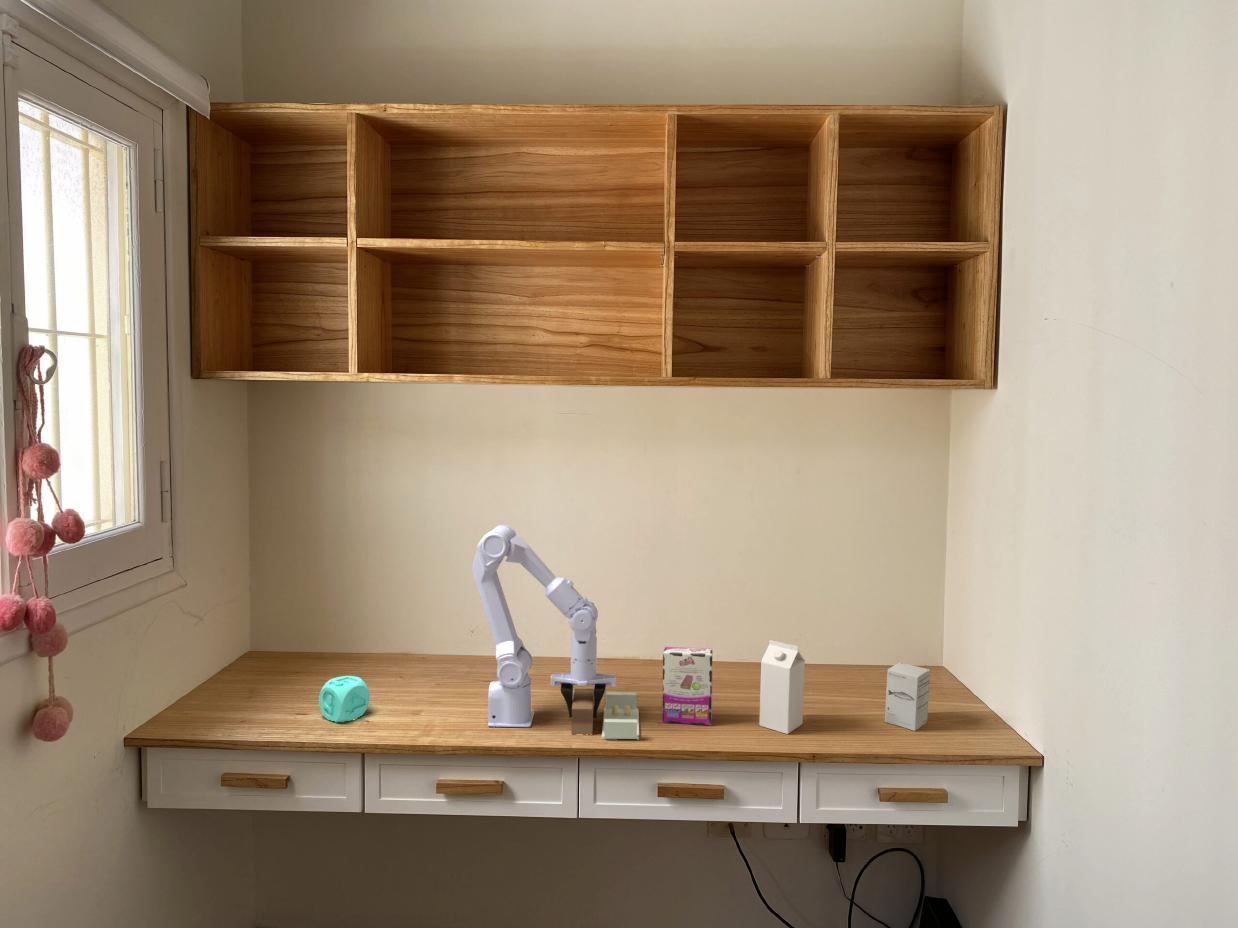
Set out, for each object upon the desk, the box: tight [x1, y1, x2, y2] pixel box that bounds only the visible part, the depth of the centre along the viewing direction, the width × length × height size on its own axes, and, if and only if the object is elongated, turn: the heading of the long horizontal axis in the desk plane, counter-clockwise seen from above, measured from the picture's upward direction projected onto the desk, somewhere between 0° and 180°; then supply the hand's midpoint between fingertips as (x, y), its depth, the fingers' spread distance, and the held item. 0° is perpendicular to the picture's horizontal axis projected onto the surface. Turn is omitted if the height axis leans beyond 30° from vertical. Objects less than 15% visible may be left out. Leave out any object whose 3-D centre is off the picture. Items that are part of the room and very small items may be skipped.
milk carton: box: [759, 639, 806, 735], centre depth 183 cm, size 7×7×19 cm
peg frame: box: [601, 691, 640, 741], centre depth 183 cm, size 17×8×4 cm, turn 179°
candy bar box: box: [661, 646, 714, 726], centre depth 186 cm, size 11×5×16 cm, turn 82°
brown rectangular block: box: [571, 688, 594, 736], centre depth 184 cm, size 12×4×6 cm, turn 0°
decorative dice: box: [318, 675, 371, 723], centre depth 186 cm, size 8×8×8 cm
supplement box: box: [884, 662, 932, 732], centre depth 186 cm, size 7×7×13 cm
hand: (583, 716), depth 184 cm, fingers open, 5 cm apart
